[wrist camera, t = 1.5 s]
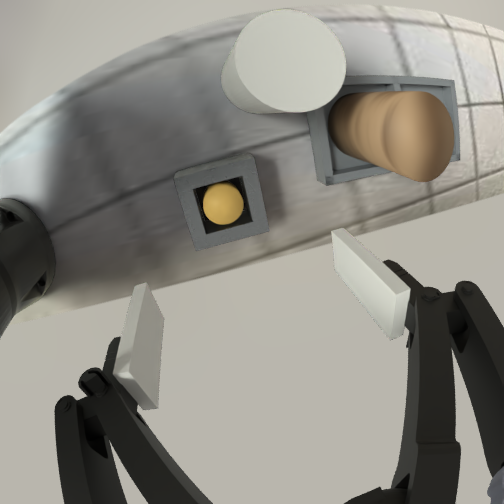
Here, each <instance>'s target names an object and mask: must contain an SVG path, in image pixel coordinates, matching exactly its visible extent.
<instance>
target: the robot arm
mask: <svg viewBox="0 0 504 504" xmlns="http://www.w3.org/2000/svg"><path fill="white" fill-rule="evenodd" d="M331 232H332V243H333V254H334V268H335V271H336V273H337V274H338V275H339V276H340V277H341V279H342V280H343V281H344V283H345V284H346V285H347V286H348V288H349V289H350V290H351V291H352V293H353V294H354V295H355V296H356V298H357V299H358V300H359V301H360V303H361V304H362V305H363V306H364V308H365V309H366V310H367V311H368V313H369V314H370V315H371V317H372V318H373V319H374V320H375V322H376V323H377V324H378V326H379V327H380V328H381V330H382V331H383V332H384V333H385V335H386V336H387V338H388V339H389V340H393V339H395V338H397V337H400V336H401V335H403V333H404V327H405V326H406V328H407V329H408V330H409V336H408V341H407V345H406V347H407V348H408V380H407V396H406V408H405V419H404V427H403V435H402V442H401V450H400V455H399V462H398V466H397V470H396V472H395V475H394V478H393V481H392V485H391V489H385V490H381V487H378V488H376V489H374V490H372V491H369V492H367V493H364V494H362V495H360V496H357V497H355V498H352V499H351V500H349V501H348V502H346V503H344V504H455V502H456V495H457V488H458V479H459V470H460V456H461V447H460V443H459V442H457V441H456V439H455V426H456V413H455V412H456V411H455V410H456V409H455V384H454V370H453V358H452V350H453V352H454V355H455V357H456V360H457V363H458V365H459V368H460V371H461V373H462V376H463V379H464V382H465V385H466V388H467V390H468V394H469V397H470V400H471V403H472V406H473V410H474V413H475V417H476V421H477V424H478V428H479V432H480V436H481V440H482V444H483V449H484V454H485V457H486V461H487V465H488V468H489V471H490V473H491V475H492V477H493V479H492V480H491V483H490V486H489V488H488V491H487V494H488V496H489V497H491V504H504V327H503V325H502V324H501V322H500V320H499V319H498V317H497V315H496V314H495V312H494V311H493V309H492V307H491V306H490V304H489V302H488V301H487V299H486V298H485V296H484V295H483V293H482V292H481V290H480V289H479V287H478V286H477V285H476V284H474V283H472V282H470V281H461V282H458V283H457V284H456V287H455V291H453V292H447V293H441V292H440V291H439V290H438V289H436V288H433V287H423V286H422V285H421V284H420V283H419V282H418V281H417V280H416V279H415V278H413V277H412V276H411V275H410V274H408V272H407V271H405V269H403V268H402V267H401V266H400V265H399V264H398V263H396V262H393V261H391V260H386V261H384V262H381V261H380V260H379V259H378V258H377V257H376V256H375V255H374V254H372V252H371V251H369V250H368V249H367V248H366V247H365V246H364V245H363V244H361V243H360V242H359V241H358V240H357V239H356V238H355V237H353V236H352V235H351V234H350V233H349V232H348V231H346V230H345V229H344V228H340V229H336V230H333V231H331ZM54 272H55V255H54V250H53V246H52V243H51V240H50V237H49V235H48V233H47V231H46V229H45V227H44V226H43V224H42V222H41V221H40V220H39V218H38V217H37V216H36V215H35V214H34V213H33V212H32V211H31V210H30V209H29V208H28V207H27V206H25V205H24V204H22V203H20V202H18V201H16V200H13V199H0V338H1V336H2V334H3V333H4V331H5V329H6V328H7V326H8V325H9V323H10V321H11V320H12V318H13V317H14V315H15V314H17V313H18V312H20V311H22V310H23V309H25V308H27V307H28V306H30V305H32V304H33V303H35V302H37V301H38V300H39V299H40V298H41V297H42V296H43V295H44V293H45V292H46V290H47V289H48V287H49V286H50V284H51V282H52V280H53V277H54ZM163 327H164V317H163V315H162V313H161V311H160V309H159V307H158V305H157V303H156V301H155V299H154V297H153V295H152V293H151V290H150V288H149V286H148V284H147V282H146V283H142V284H139V285H135V287H134V291H133V294H132V297H131V301H130V305H129V308H128V312H127V316H126V320H125V323H124V327H123V331H122V336H121V337H116V338H114V339H113V340H112V342H111V343H110V345H109V347H108V351H107V355H106V359H105V360H106V361H105V363H104V367H103V371H102V370H101V369H100V368H90V369H88V370H86V371H85V372H84V373H83V374H82V376H81V377H80V379H79V382H78V384H79V387H80V389H81V390H82V391H83V392H84V393H85V394H86V395H87V397H84V398H82V399H80V400H76V399H75V398H74V397H73V396H70V395H67V396H64V397H62V398H61V399H60V400H59V401H58V402H57V404H56V406H55V434H56V447H57V458H58V467H59V474H60V481H61V488H62V493H63V499H64V504H127V501H126V498H125V495H124V493H123V489H122V486H121V483H120V479H119V476H118V473H117V469H116V465H115V462H114V458H113V454H112V450H111V446H110V442H111V444H112V446H113V447H114V450H115V451H116V453H117V455H118V456H119V458H120V460H121V462H122V464H123V465H124V467H125V469H126V470H127V472H128V474H129V475H130V477H131V478H132V480H133V481H134V483H135V485H136V486H137V487H138V489H139V491H140V492H141V494H142V495H143V496H144V498H145V499H146V501H147V502H148V504H213V503H212V502H211V501H210V500H209V499H208V498H207V497H206V496H205V495H204V494H203V493H202V492H201V491H200V490H199V489H198V487H196V485H195V484H194V483H193V482H192V481H191V480H190V479H189V477H188V476H187V475H186V474H185V473H184V472H183V470H182V469H181V468H180V467H179V466H178V465H177V463H176V462H175V461H174V460H173V458H172V457H171V456H170V455H169V453H168V452H167V451H166V449H165V448H164V447H163V446H162V444H161V443H160V442H159V441H158V439H157V438H156V436H155V435H154V434H153V432H152V431H151V429H150V428H149V426H148V425H147V424H146V422H145V421H144V419H143V418H142V416H141V415H140V414H139V413H138V412H137V406H138V405H139V406H140V407H141V408H142V409H143V410H150V409H157V408H158V400H159V398H158V397H159V379H160V363H161V349H162V337H163ZM451 347H452V349H451ZM109 440H110V441H109Z"/></svg>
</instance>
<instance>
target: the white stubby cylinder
mask: <svg viewBox="0 0 504 504" xmlns="http://www.w3.org/2000/svg"><path fill="white" fill-rule="evenodd" d="M345 74H346V58H345V54H344V50H343V48H342V45H341V43H340V41H339V40H338V38H337V36H336V35H335V34H334V32H333V31H332V30H331V29H330V28H329V27H328V26H327V25H326V24H324V23H323V22H322V21H320V20H319V19H317V18H316V17H314V16H312V15H309V14H307V13H304V12H301V11H297V10H289V9H280V10H273V11H269V12H266V13H263V14H261V15H259V16H257V17H255V18H254V19H253V20H251V21H250V22H249V23H248V24H247V25H246V26H245V27H244V28H243V30H242V31H241V33H240V35H239V36H238V38H237V40H236V42H235V44H234V46H233V48H232V50H231V52H230V54H229V56H228V58H227V60H226V62H225V64H224V66H223V69H222V73H221V84H222V88H223V91H224V93H225V95H226V96H227V98H228V99H229V100H230V101H231V102H232V103H233V104H234V105H235V106H236V107H238V108H239V109H241V110H244V111H246V112H249V113H255V114H266V113H293V112H307V111H311V110H315V109H317V108H320V107H322V106H323V105H325V104H327V103H328V102H329V101H331V100H332V99H333V98H334V97H335V96H336V94H337V93H338V92H339V90H340V88H341V87H342V84H343V82H344V79H345Z"/></svg>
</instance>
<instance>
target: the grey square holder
mask: <svg viewBox="0 0 504 504" xmlns="http://www.w3.org/2000/svg"><path fill="white" fill-rule="evenodd" d="M235 177H239V178H240V183H241V187H242V191H243V195H244V200H245V204H246V208H247V210H245V211H242V213H241V215H240V216H239V217H238V219H236V220H235V221H234V222H232V223H229V224H216V223H214V222H212V221H211V220H208V221H205V220H204V216H203V213H202V210H201V206H200V203H199V199H198V196H197V192H196V189H195V188H198V187H202V186H205V185H209V184H212V183H216V182H220V181H224V180H228V179H231V178H235ZM174 182H175V186H176V189H177V192H178V196H179V199H180V202H181V206H182V209H183V212H184V215H185V218H186V221H187V225H188V228H189V231H190V234H191V237H192V240H193V243H194V246H195V249H196V251H199V250H202V249H206V248H209V247H213V246H217V245H220V244H224V243H228V242H231V241H235V240H239V239H242V238H246V237H250V236H254V235H257V234H261V233H265V232H269V231H270V230H269V225H268V221H267V216H266V211H265V206H264V201H263V196H262V192H261V187H260V182H259V177H258V173H257V168H256V163H255V159H254V157H253V156H251V155H250V154H249V153H244V154H240V155H236V156H232V157H228V158H224V159H220V160H216V161H212V162H208V163H205V164H201V165H198V166H194V167H190V168H187V169H184V170H180V171H177V172H176V174H175V176H174Z"/></svg>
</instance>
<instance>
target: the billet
mask: <svg viewBox="0 0 504 504" xmlns="http://www.w3.org/2000/svg"><path fill="white" fill-rule="evenodd" d="M328 130H329V134H330V137H331V139H332V141H333V143H334V145H335V146H336V147H337V148H338V149H339V150H340V151H341V152H342V153H344V154H346V155H348V156H350V157H353V158H356V159H359V160H362V161H365V162H368V163H371V164H374V165H376V166H379V167H382V168H384V169H387V170H390V171H392V172H395V173H398V174H400V175H403V176H405V177H408V178H410V179H412V180H415V181H418V182H428V181H431V180H433V179H435V178H437V177H438V176H439V175H440V174H441V173H442V172H443V171H444V170H445V168H446V167H447V165H448V163H449V161H450V159H451V156H452V153H453V148H454V128H453V123H452V120H451V117H450V114H449V112H448V110H447V109H446V107H445V106H444V104H443V103H442V102H441V101H440V100H439V99H438V98H437V97H436V96H434V95H432V94H430V93H428V92H423V91H383V92H362V93H350V94H346V95H344V96H342V97H341V98H339V99H338V100H337V101H336V102H335V103H334V104H333V106H332V108H331V110H330V113H329V117H328Z"/></svg>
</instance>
